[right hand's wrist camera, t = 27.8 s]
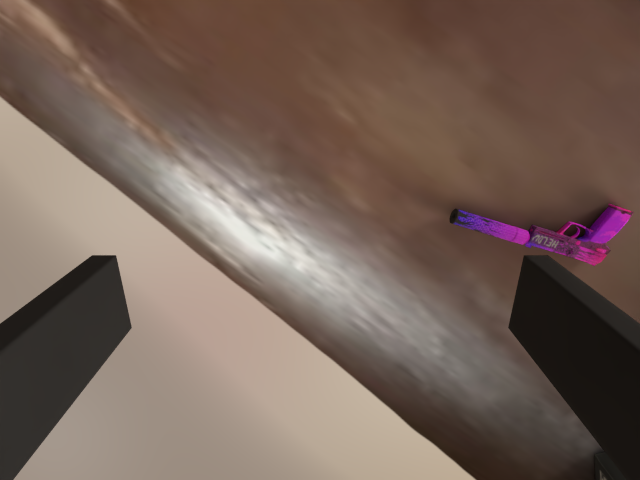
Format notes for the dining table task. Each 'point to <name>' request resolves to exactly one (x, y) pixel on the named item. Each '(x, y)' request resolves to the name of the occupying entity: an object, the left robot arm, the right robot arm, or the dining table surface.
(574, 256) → the handgun
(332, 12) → the dining table surface
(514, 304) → the right robot arm
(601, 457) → the router box
